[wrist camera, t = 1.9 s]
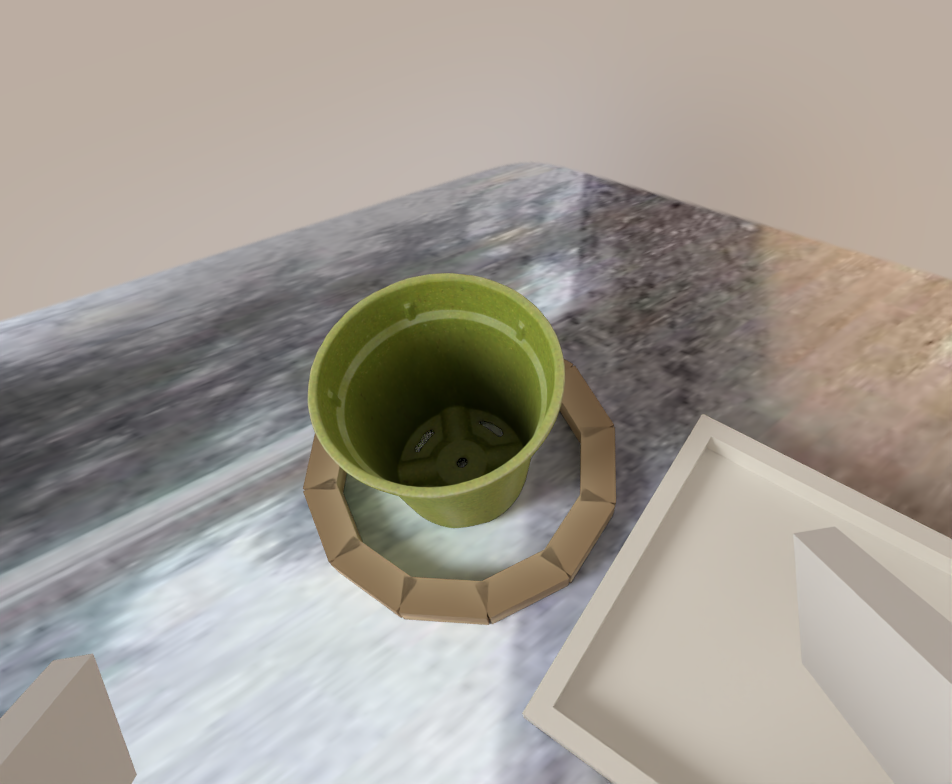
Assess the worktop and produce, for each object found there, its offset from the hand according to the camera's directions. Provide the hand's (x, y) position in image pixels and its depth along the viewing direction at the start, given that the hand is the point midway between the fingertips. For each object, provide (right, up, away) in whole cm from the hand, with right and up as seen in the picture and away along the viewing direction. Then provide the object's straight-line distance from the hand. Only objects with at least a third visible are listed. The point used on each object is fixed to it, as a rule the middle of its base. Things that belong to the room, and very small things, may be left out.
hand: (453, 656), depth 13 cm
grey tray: (+12, -6, +14) cm, 20 cm away
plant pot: (0, +1, +20) cm, 20 cm away
